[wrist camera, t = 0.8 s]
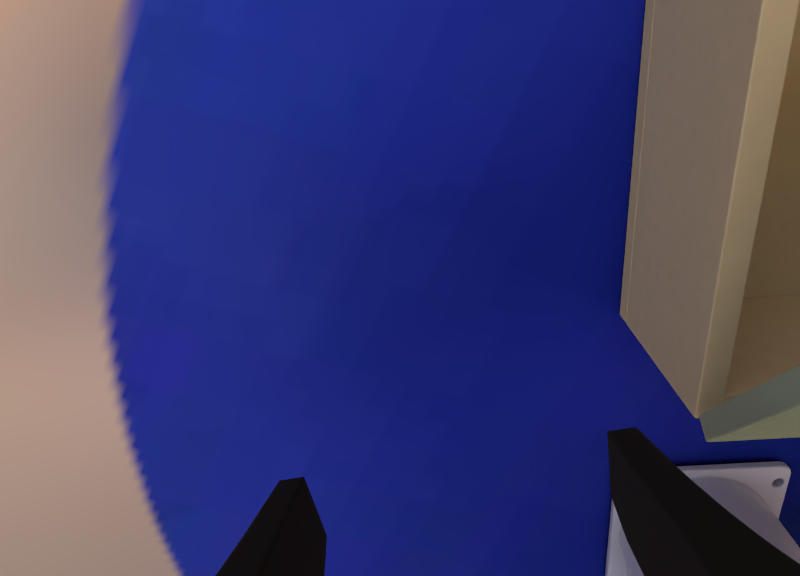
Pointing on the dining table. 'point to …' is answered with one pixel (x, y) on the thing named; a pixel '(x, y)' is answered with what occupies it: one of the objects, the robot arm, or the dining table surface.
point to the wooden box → (716, 196)
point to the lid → (758, 412)
